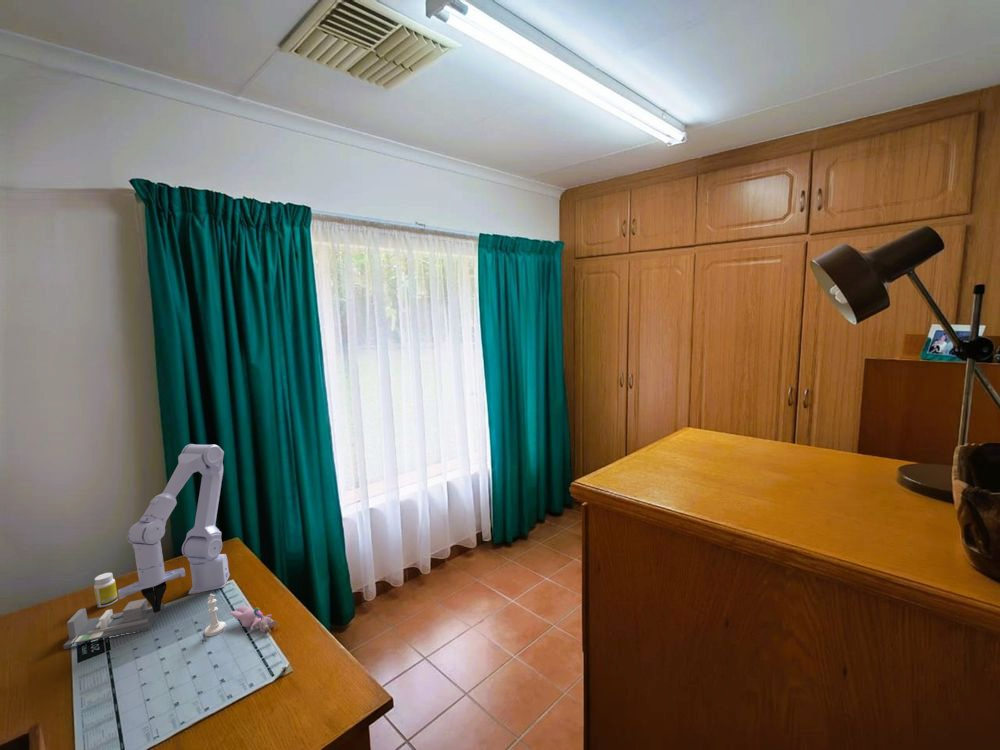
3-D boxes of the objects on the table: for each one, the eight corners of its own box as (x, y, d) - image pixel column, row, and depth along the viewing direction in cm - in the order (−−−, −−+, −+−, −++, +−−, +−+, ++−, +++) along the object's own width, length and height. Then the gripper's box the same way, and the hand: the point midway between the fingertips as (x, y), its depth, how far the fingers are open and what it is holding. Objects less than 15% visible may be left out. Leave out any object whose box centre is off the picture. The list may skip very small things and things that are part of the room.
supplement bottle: (122, 598, 135) (118, 571, 134) (107, 608, 130) (103, 580, 130) (107, 598, 136) (103, 571, 135) (92, 607, 131) (88, 580, 130)
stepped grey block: (148, 611, 126) (146, 598, 125) (142, 620, 122) (140, 607, 121) (115, 618, 123) (113, 605, 123) (108, 627, 119) (106, 614, 119)
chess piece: (230, 626, 119) (226, 590, 118) (212, 638, 115) (207, 601, 114) (218, 621, 121) (214, 587, 120) (200, 633, 117) (195, 597, 116)
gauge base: (164, 606, 130) (161, 588, 129) (149, 629, 120) (146, 610, 119) (86, 623, 124) (83, 604, 123) (63, 649, 114) (60, 628, 113)
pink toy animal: (284, 628, 120) (243, 609, 125) (284, 608, 119) (243, 590, 124) (264, 644, 114) (222, 623, 119) (264, 623, 113) (222, 603, 118)
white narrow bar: (113, 618, 123) (112, 608, 123) (100, 634, 116) (99, 624, 116) (108, 619, 123) (106, 610, 122) (95, 636, 116) (93, 625, 116)
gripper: (179, 549, 131) (184, 593, 132) (114, 570, 121) (121, 617, 122) (184, 557, 126) (190, 602, 127) (117, 579, 116) (124, 628, 117)
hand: (156, 610), depth 124 cm, fingers closed
